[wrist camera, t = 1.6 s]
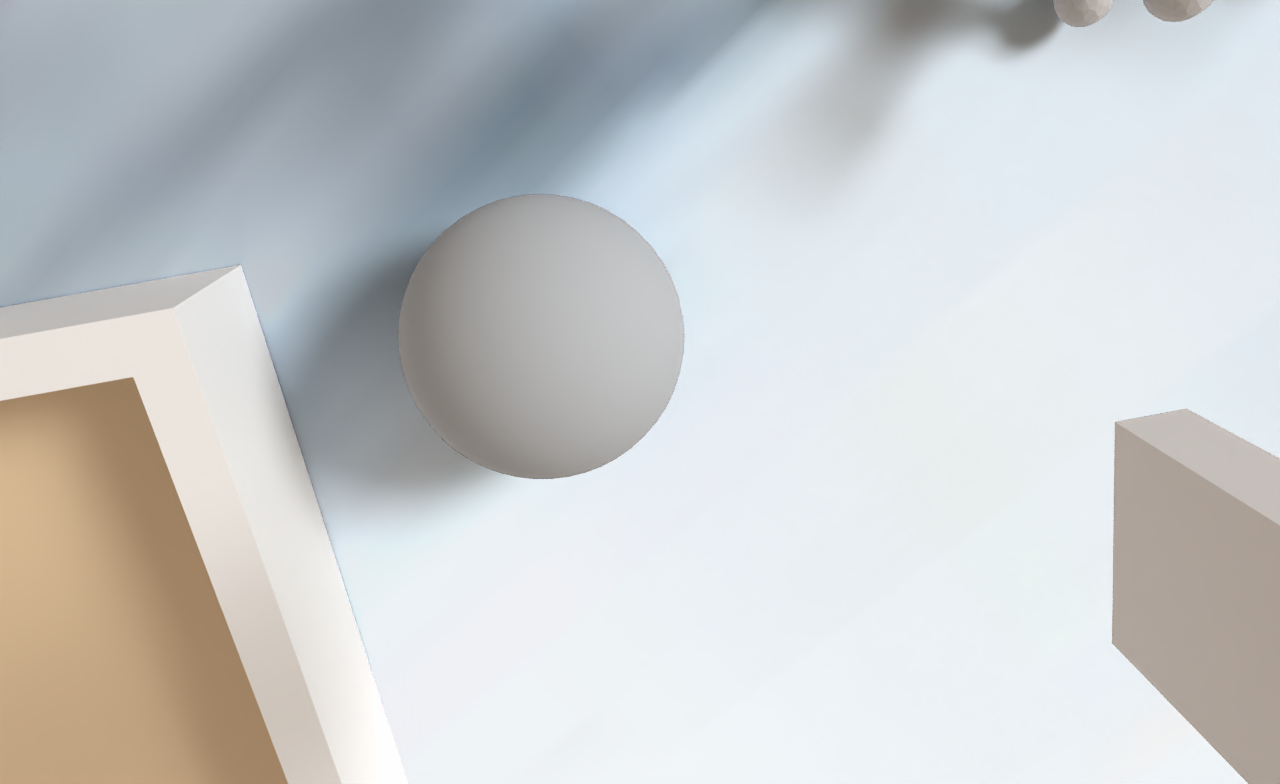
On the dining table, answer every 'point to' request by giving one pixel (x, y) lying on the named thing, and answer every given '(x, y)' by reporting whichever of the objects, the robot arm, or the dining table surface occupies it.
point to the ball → (541, 336)
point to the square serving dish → (168, 555)
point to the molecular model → (1088, 3)
